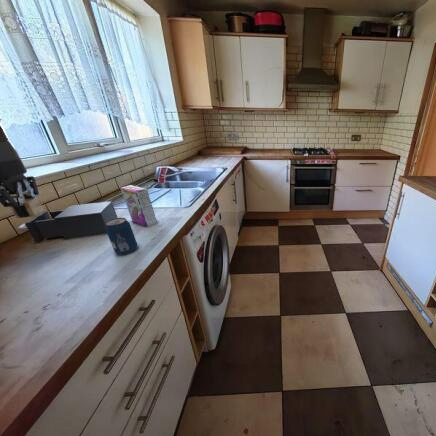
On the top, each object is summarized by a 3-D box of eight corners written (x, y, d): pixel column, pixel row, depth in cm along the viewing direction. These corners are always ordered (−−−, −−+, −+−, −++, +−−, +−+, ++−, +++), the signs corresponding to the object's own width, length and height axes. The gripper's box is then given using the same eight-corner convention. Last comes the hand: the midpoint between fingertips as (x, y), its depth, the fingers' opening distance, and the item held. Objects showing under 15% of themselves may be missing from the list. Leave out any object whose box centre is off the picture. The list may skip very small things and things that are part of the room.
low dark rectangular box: (65, 239, 89) (53, 218, 85) (80, 225, 100) (70, 205, 95) (109, 233, 93) (100, 212, 89) (119, 220, 104) (111, 201, 99)
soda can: (131, 243, 86) (120, 215, 81) (142, 248, 83) (132, 219, 78) (111, 253, 81) (98, 223, 75) (122, 258, 78) (110, 227, 72)
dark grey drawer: (19, 243, 85) (8, 225, 81) (38, 229, 95) (28, 212, 91) (78, 235, 90) (69, 217, 87) (90, 222, 100) (83, 206, 96)
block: (16, 218, 69) (8, 204, 67) (26, 212, 72) (19, 199, 70) (35, 216, 70) (28, 202, 68) (44, 210, 74) (37, 197, 72)
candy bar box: (131, 222, 102) (119, 187, 95) (142, 218, 106) (131, 184, 99) (147, 227, 97) (135, 191, 90) (158, 223, 101) (147, 188, 94)
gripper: (2, 154, 68) (30, 206, 76) (-43, 165, 56) (-4, 225, 64) (33, 153, 71) (58, 203, 78) (-3, 163, 58) (30, 221, 66)
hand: (30, 213), depth 71 cm, fingers closed on block, 4 cm apart
